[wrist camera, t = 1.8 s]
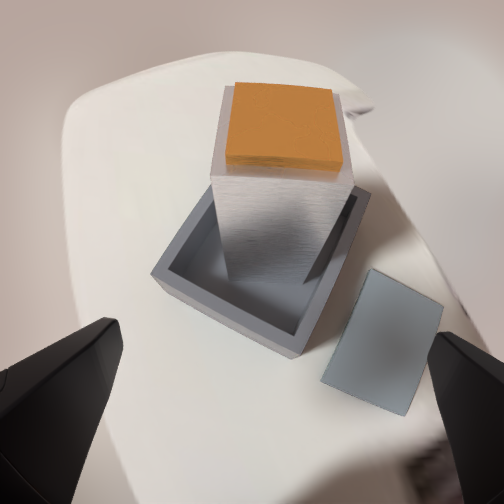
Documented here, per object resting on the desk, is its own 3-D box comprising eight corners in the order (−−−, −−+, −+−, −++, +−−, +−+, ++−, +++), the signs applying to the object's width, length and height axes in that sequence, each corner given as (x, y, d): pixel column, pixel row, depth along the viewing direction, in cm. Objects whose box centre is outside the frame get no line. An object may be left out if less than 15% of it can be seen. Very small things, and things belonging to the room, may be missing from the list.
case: (291, 359, 21) (300, 355, 17) (165, 291, 22) (150, 274, 19) (355, 220, 25) (371, 193, 21) (245, 169, 27) (245, 137, 23)
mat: (401, 415, 19) (404, 416, 19) (320, 381, 20) (321, 381, 20) (440, 308, 22) (443, 306, 22) (368, 270, 23) (371, 268, 23)
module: (302, 284, 22) (359, 175, 10) (228, 280, 22) (208, 165, 10) (301, 219, 24) (341, 84, 12) (234, 215, 24) (224, 75, 12)
